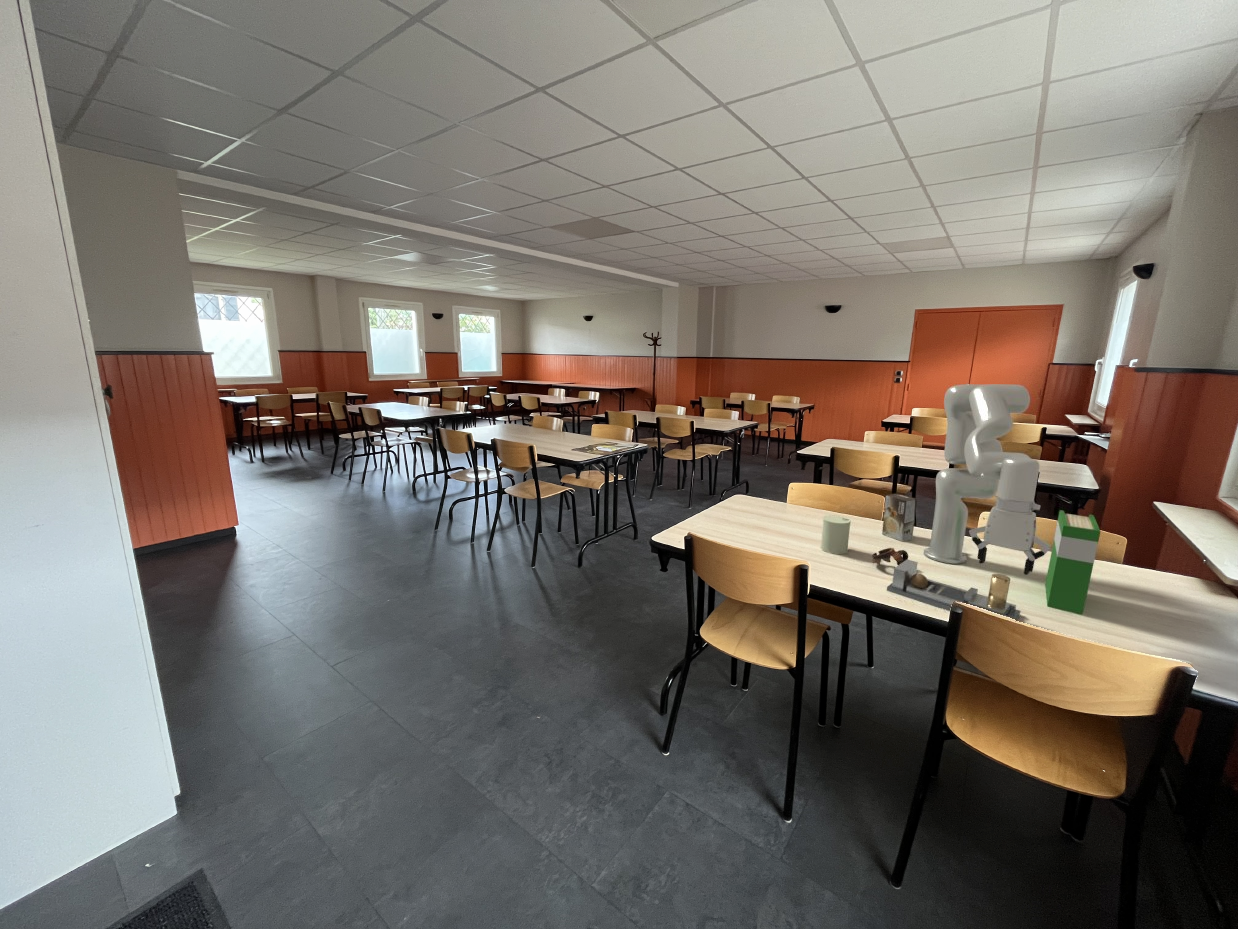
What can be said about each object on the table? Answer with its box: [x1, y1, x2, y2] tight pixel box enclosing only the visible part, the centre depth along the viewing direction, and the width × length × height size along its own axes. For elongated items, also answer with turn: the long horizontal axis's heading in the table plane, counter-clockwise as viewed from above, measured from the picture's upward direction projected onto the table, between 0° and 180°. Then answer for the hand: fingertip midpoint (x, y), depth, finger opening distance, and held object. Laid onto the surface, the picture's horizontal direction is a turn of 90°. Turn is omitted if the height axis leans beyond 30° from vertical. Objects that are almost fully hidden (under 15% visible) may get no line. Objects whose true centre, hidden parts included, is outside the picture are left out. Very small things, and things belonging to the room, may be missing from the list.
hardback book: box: [1044, 509, 1102, 615], centre depth 145 cm, size 18×7×24 cm, turn 142°
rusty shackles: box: [871, 547, 909, 566], centre depth 167 cm, size 12×10×8 cm
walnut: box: [911, 573, 928, 589], centre depth 150 cm, size 4×4×4 cm
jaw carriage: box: [964, 573, 1012, 616], centre depth 137 cm, size 7×9×10 cm
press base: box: [886, 558, 1021, 621], centre depth 144 cm, size 12×30×7 cm, turn 41°
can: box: [820, 514, 852, 555], centre depth 183 cm, size 9×9×12 cm
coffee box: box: [881, 493, 918, 542], centre depth 195 cm, size 9×6×16 cm
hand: (1003, 567), depth 134 cm, fingers open, 9 cm apart
